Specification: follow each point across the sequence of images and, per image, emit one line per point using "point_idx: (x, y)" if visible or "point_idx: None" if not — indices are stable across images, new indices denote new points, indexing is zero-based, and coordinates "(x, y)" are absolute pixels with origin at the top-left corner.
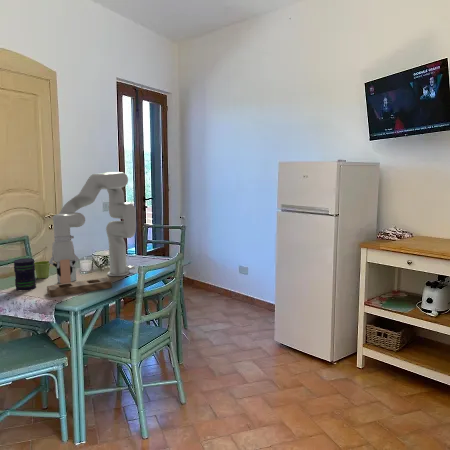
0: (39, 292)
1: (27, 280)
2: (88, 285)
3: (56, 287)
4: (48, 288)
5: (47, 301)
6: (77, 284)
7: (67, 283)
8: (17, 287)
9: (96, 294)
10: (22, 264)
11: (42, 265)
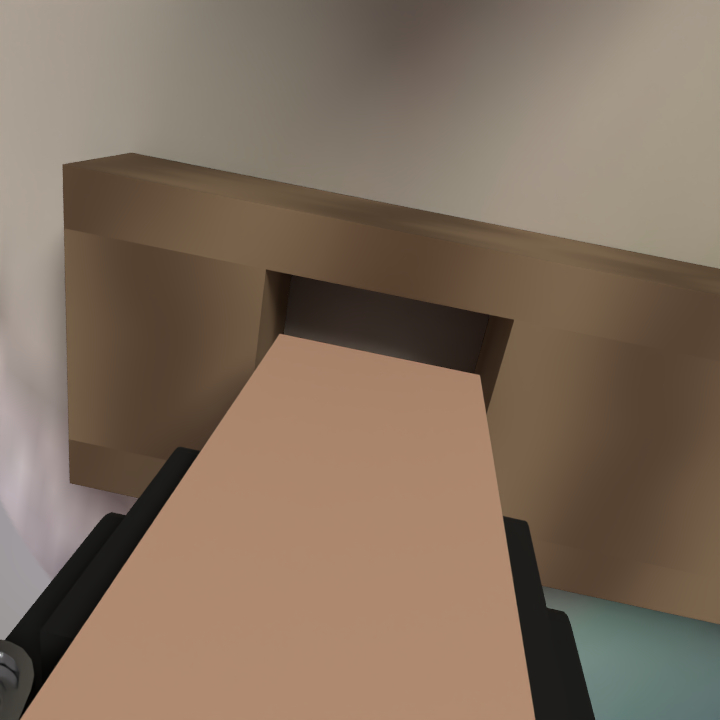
0: (16, 13)
1: None
2: (689, 604)
3: (195, 402)
4: (70, 334)
5: (64, 541)
6: (567, 488)
7: (466, 284)
8: None
9: (628, 702)
10: None
11: None
